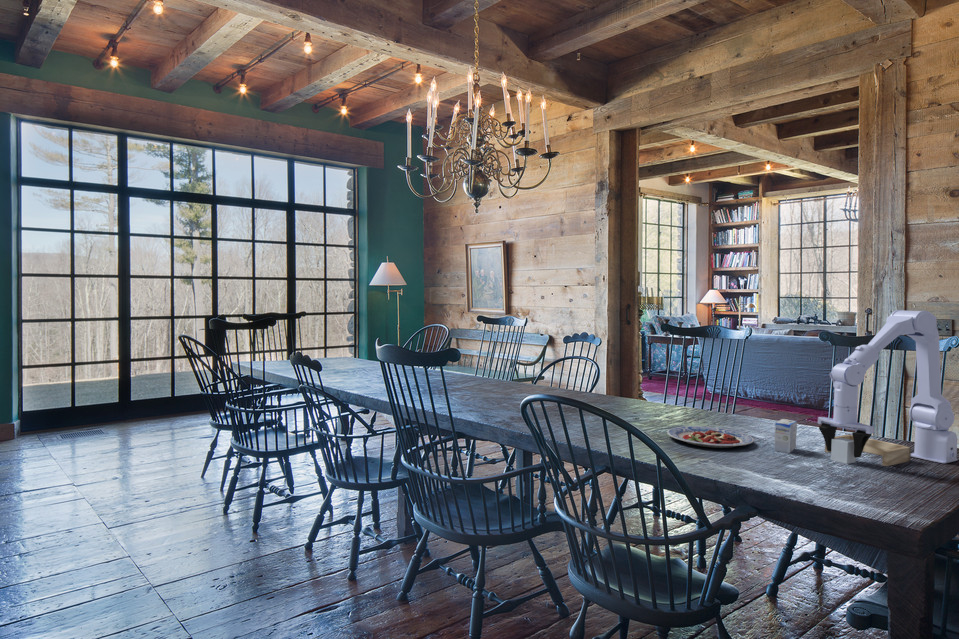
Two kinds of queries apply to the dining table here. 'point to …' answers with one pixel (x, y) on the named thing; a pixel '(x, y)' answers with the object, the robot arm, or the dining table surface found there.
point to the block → (843, 450)
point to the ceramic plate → (710, 436)
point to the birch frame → (884, 450)
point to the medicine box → (785, 435)
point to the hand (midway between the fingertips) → (843, 453)
